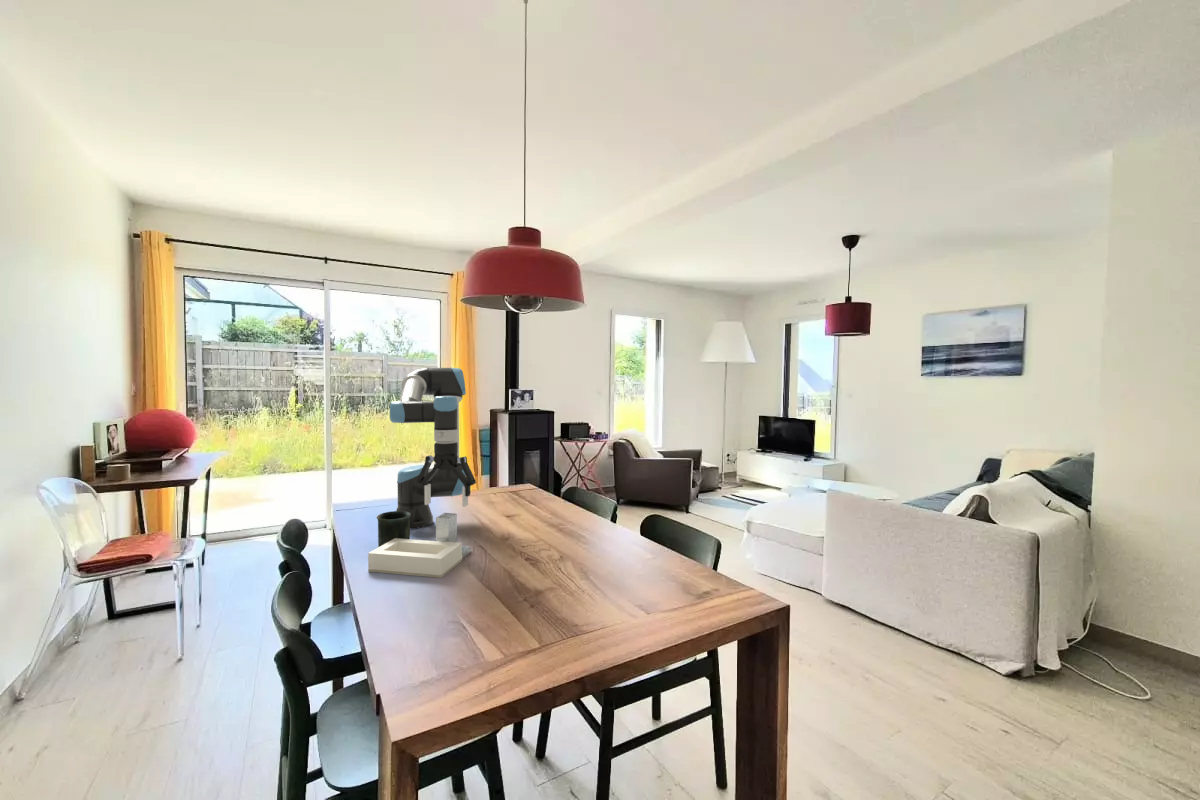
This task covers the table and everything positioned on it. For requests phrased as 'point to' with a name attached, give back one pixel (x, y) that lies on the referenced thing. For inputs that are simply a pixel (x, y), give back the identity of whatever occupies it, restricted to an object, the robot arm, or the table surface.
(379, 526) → the mug
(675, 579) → the table surface
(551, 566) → the table surface
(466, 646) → the table surface
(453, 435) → the robot arm
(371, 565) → the well block
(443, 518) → the grey l-shaped block
